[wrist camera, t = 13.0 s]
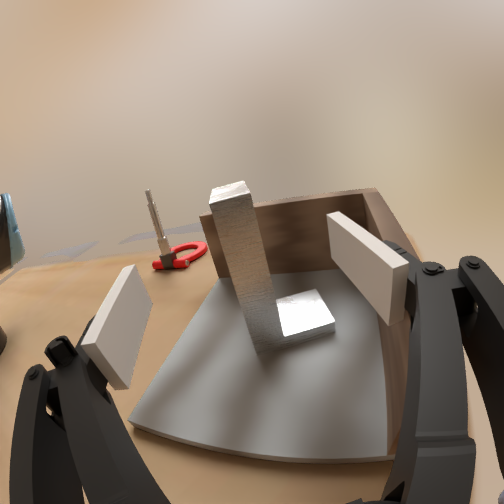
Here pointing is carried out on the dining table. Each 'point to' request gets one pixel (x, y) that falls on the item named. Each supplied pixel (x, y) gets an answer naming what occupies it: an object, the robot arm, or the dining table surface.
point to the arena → (289, 352)
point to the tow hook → (168, 255)
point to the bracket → (262, 278)
